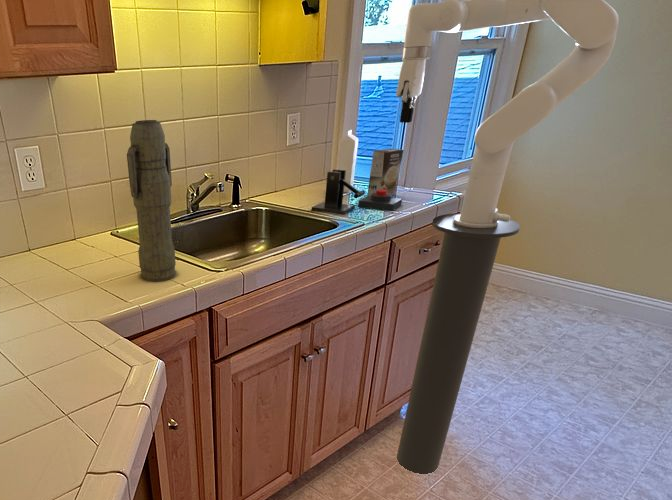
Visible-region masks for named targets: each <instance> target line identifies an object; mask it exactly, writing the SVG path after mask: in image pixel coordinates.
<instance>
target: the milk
mask: <svg viewBox="0 0 672 500" xmlns="http://www.w3.org/2000/svg"><path fill="white" fill-rule="evenodd" d="M352 132H353V131H352V129H350V130H348V131H347V135H346V136H344V137H342V138H341V139H339V141H338V149H337V150H338V151H337V160H336V169H335V170H346V175H345V181H346V182H347V183H349V184H350V185H351V186H353V187H354V181H355V174H356V173H355V172H356V165H357V158H358V157H357V156H358V149H359V148H358V147H359V138H358V137H357V136H356V135H354V134H352ZM351 192H352V191H351V190H350V189H348V188H347V187H346V186H344V193H351Z"/></svg>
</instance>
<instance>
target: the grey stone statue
mask: <svg viewBox="0 0 672 500" xmlns="http://www.w3.org/2000/svg"><path fill="white" fill-rule="evenodd" d="M129 141H130V147H128V149H127V153H126V159H127V160H126V162H127V171H128V181H129V189H130V195H131V197H132V199H133V200H132V201H133V206H134V208H135V209H136V211H135V212H136V220H137V230H138V241H139V247H138V251H137V254H138V262H139V263H138V265H139V268H140V277H141V279H142V280H145V281H148V282H164V281H168V280H169V281H170V280H171V279H173V278H175V276H176V275H177V274H176V273H177V272H176V265H177V264H176V263H177V262H176V249H175V246H174V242H173V235H172V234H173V233H172V220H171V205H172V188H171V187H172V186H173V184H172V181H173V180H172V167H171V165H172V164H171V149H170V147H169V145H168V143H167V142H166V135H165V132H164V129H163V127H162V124H161V122H160V121H158V120H157V119H145V120H136V121H135V123H132V124H131V130H130V134H129Z"/></svg>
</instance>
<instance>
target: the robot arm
mask: <svg viewBox="0 0 672 500" xmlns="http://www.w3.org/2000/svg"><path fill="white" fill-rule="evenodd" d="M548 20H552V22H554V24H555V25H556V26H558V27H559V29H561V30H562V31H563V32H564V33H565V34H566V35H567V36H568V37H569V38H571V39H572V40H573V41H574V42H575V45H574V47H573V49H572V51H571V52H570V53H569V55H567V56H566V57H565V58H563V59H562V60H561V61H560V62H559V63H558V64H556V65H555V66H554V67H553V68H551V70H549V71H548V72H547V73H545V74H544V75H543V76H541V78H539V79H537V80H536V81H535V82H534V83H532V84H530V85H528V86H527V87H525V88H523V89H522V90H521V91H520V92H518V93H517V94H516V95H515V96H514V97H512V98H511V99H510V100H509V101H508V102H506V103H505V104H504V105H503V106H501V107H500V108H499V109H497V110H496V111H495V112H494V113H493V114H491V115H490V116H489V117H487V118H486V119H484V121H483V122H481V123H480V125H479V126H478V128H477V129H476V131H475V134H474V143H475V150H474V153H473V158H472V161H471V167H470V171H469V174H468V179H467V183H466V187H465V192H464V196H463V200H462V206H461V209H460V213H461V214H460V216H457V217H455V218H454V221H453V222H454V223H455V224H457V225H460V226H464V227H470V228H492V227H495V226H497V225H498V221H503V222H509V220H511V215H508V214H507V213H500V212H499V208H497V206H498V203H499V199H500V196H501V191H502V187H503V184H504V179H505V176H506V173H507V168H508V166H509V161H510V158H511V154H512V151H513V147H514V144H515V141H517V140H518V139H519V138H521V137H522V136H524V135H525V134H526V133H528V132H529V131H530V130H532V129H533V128H534V127H536V126H537V125H538V124H540V123H541V122H542V121H544V120H545V119H546V118H547V117H548V116H549V115H550V114H551V113H552V112H553V110H554V109H555V108H556V107H557V106H558V105H559V104H561V103H562V102H563V101H564V100H566V99H567V98H569V97H570V96H571V95H572V94H574V93H575V92H576V91H578V90H579V89H580V88H581V87H582V86H583V85H585V84H586V83H587V82H589V81H590V80H591V79H592V78H594V76H595V75H596V74H597V73H598V72H599V71H601V70H602V68H603V67H604V65H606V63H607V61H608V60H609V58H610V56H611V54H612V53H613V51H614V48H615V45H616V41H617V34H618V27H619V25H620V17H619V14H618V12H617V10H615V9H614V7H612V5H610V4H609V3H608V2H607V1H606V0H462V1H461V0H442V1H439V2H423V3H417V4H413V5H412V6H410V8H409V11H408V15H407V22H406V28H405V36H404V42H403V48H402V49H403V50H402V57H401V61H402V63H401V67H400V72H399V77H398V82H397V88H396V92H395V93H396V94H395V96H396V97H397V99H399V98H401V111H400V117H399V123H402V124H403V123H406V124H407V123H411V122H412V121H413V116H414V109H415V104H416V100H417V98H418V97H419V96H420V95H421V94H422V90H423V86H424V78H425V72H426V62H427V61H426V60H430V54H431V48H432V43H433V36H434V32H442V33H449V34H453V33H459V32H460V33H461V32H466V31H474V30H479V29H487V28H500V27H506V26H512V25H519V24H525V23H526V24H527V23H532V22H533V23H534V22H540V21H548Z"/></svg>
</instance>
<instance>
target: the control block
mask: <svg viewBox="0 0 672 500" xmlns="http://www.w3.org/2000/svg"><path fill="white" fill-rule="evenodd" d="M402 202H403V198H397V197H392V196H391V194H389V193H387V195H386V196H377V195H376V193H372V194H371V196H367V195H366V196H365V197H363V198H361V199H360V200H358V205H357V207H358V208H366V209H371V210H372V209H373V210H382V211H388V212H389V211H390V212H393V211H395V210H396V209H398V208H399V207H401V206H402Z"/></svg>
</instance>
